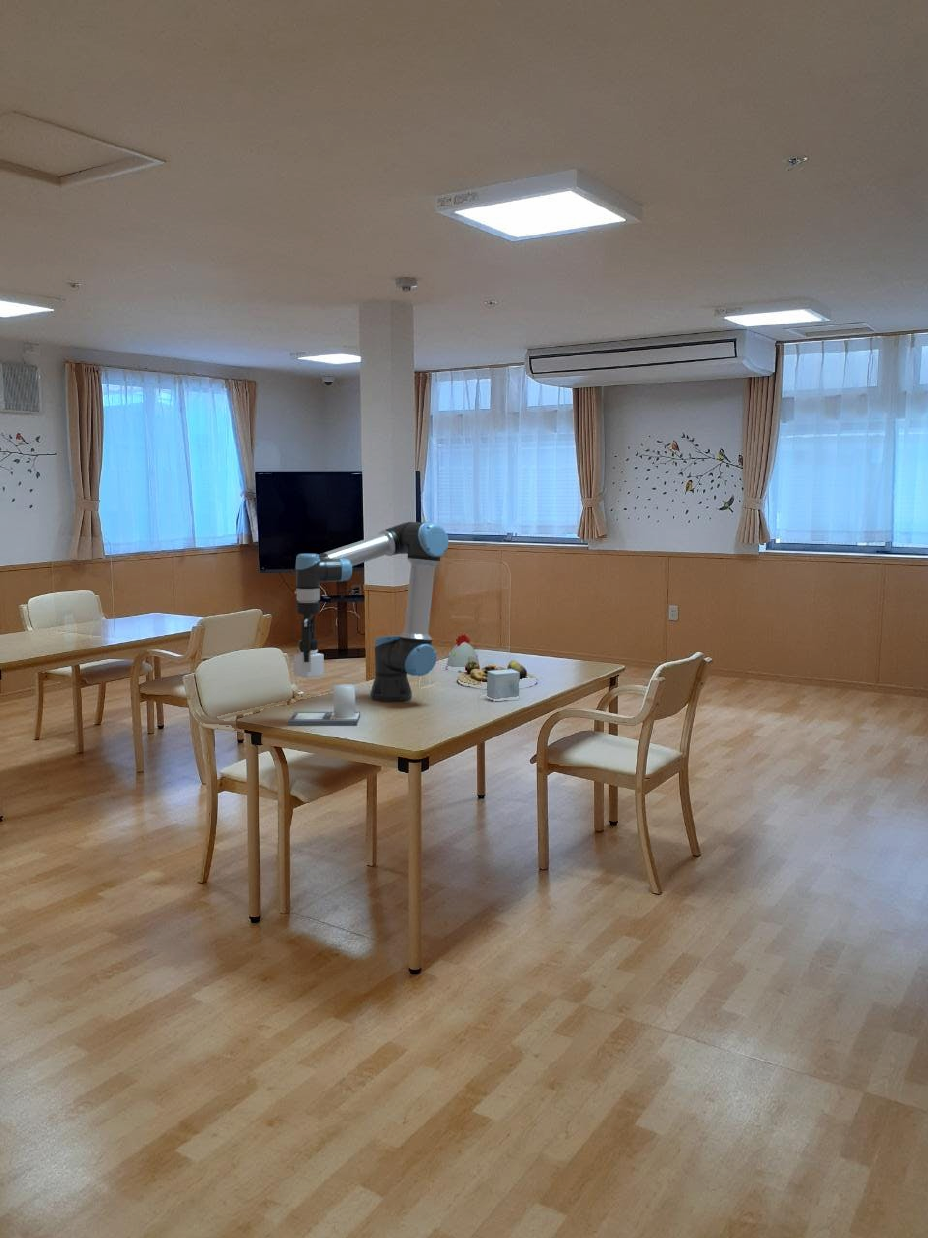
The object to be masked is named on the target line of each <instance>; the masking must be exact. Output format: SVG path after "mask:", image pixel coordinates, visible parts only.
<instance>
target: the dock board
mask: <svg viewBox="0 0 928 1238" xmlns="http://www.w3.org/2000/svg"><path fill="white" fill-rule="evenodd" d="M360 718H361V711H355V717H352V718H336V717H334V711H294V712H293V714H292V715H291V717H290V718H289V720H288V726H289V725H299V727H301V726H302V727H303V726H304V727H305V726H307V727H309V726H311V727H313V726H315V727H316V726H321V727H322V726H325V727H326V726H329V727H330V726H333V727H335V726H339V727H341V726H342V727H343V726H347V727H348V726H352V727H353V726H354V727H355V726H358V723H359V720H360Z"/></svg>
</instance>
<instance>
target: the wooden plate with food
mask: <svg viewBox="0 0 928 1238" xmlns="http://www.w3.org/2000/svg"><path fill="white" fill-rule="evenodd" d="M509 669H513V670H515V671H518V672H520V679H522V678H528V677H527V676H529V677H530V678H537V677H536V676H534V675H533V674H530V673H528V672H527V669H526V668H525V667H524V665H522V664H520V662H518V661H517V660H514V659H512V660H511V661H510V662H509V663H508V665H507V668H505V667H502V666H496V665H493V664H489V665H485V666H484V667H483V668H482V669H480V663H479V664H478V663H477V662H475V661H469V662H468V663H467V664H466V666H465V670H466V671H467V672H462V673H459V675H458V676H457V677H456V679H457V678H458V680H460V681H461V682H464V683H468V684H473V685H483V684H481V681H482V682H487V676H488V673H487V672H488V671H495V670H509ZM464 678H466V679H467V680H466V679H464ZM468 680H469V681H468ZM471 681H472V682H471ZM475 682H477V683H475Z"/></svg>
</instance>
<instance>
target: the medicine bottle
mask: <svg viewBox="0 0 928 1238" xmlns="http://www.w3.org/2000/svg"><path fill="white" fill-rule="evenodd" d="M298 644H299V645H298V646H299V647H298V651H299V653H293V675H294V676H296V677H302V678H306V679H309V678H310V679H311V678H315V677H322V676H324V675H325V663H324V662H325V660H324V657H325V655H324V654H323V653H319V643H318V640H317V639H316V638H315V639H311V646H310V650H311V651H310V652H311V672H303V664H302V652H300V650H301V648H302V639H301V640H299V643H298Z"/></svg>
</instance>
